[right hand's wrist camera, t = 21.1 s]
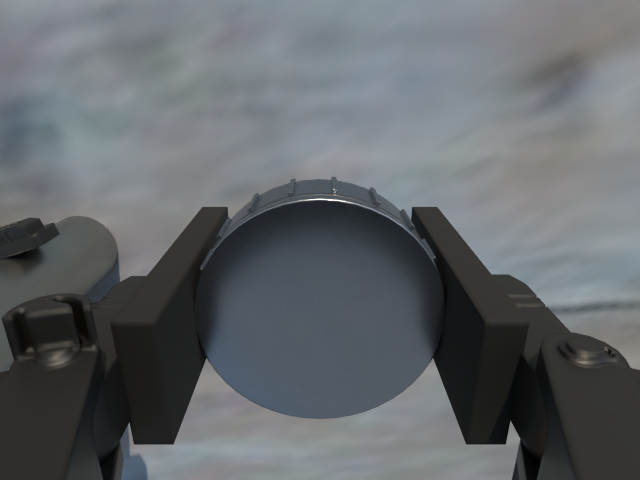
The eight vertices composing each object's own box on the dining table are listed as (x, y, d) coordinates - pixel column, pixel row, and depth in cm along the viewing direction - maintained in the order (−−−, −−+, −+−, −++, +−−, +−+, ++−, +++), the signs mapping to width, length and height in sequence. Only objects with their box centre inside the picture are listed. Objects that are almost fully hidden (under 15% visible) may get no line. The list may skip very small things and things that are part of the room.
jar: (91, 289, 33) (-100, 474, 18) (37, 245, 32) (-215, 405, 17) (131, 249, 32) (-37, 411, 17) (77, 202, 30) (-156, 332, 16)
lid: (427, 160, 11) (445, 177, 9) (436, 364, 13) (453, 408, 11) (184, 191, 11) (160, 214, 9) (233, 387, 13) (221, 432, 11)
